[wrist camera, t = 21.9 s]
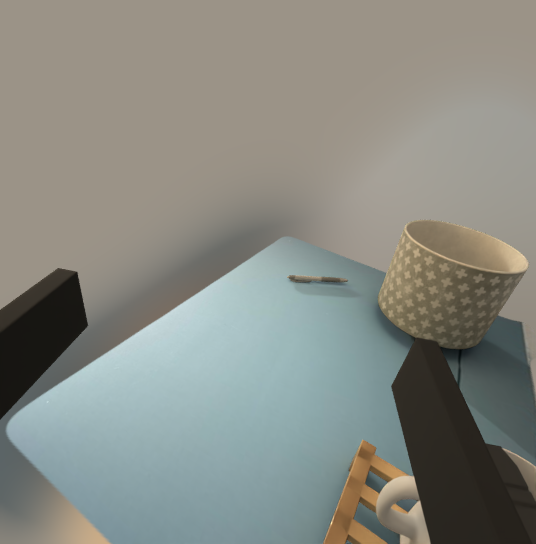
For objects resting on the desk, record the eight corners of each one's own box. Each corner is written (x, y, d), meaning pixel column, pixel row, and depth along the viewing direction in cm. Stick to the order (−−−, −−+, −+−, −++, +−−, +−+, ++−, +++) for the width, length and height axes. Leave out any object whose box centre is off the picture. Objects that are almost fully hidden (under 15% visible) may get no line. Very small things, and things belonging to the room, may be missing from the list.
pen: (286, 279, 70) (287, 273, 70) (346, 282, 73) (348, 277, 72) (287, 281, 70) (288, 276, 69) (347, 285, 72) (349, 280, 71)
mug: (487, 525, 30) (557, 463, 24) (524, 661, 23) (636, 617, 17) (359, 480, 32) (397, 413, 26) (357, 593, 25) (408, 532, 19)
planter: (393, 358, 54) (438, 265, 45) (361, 292, 70) (388, 214, 61) (497, 365, 56) (560, 278, 46) (442, 300, 72) (481, 225, 63)
